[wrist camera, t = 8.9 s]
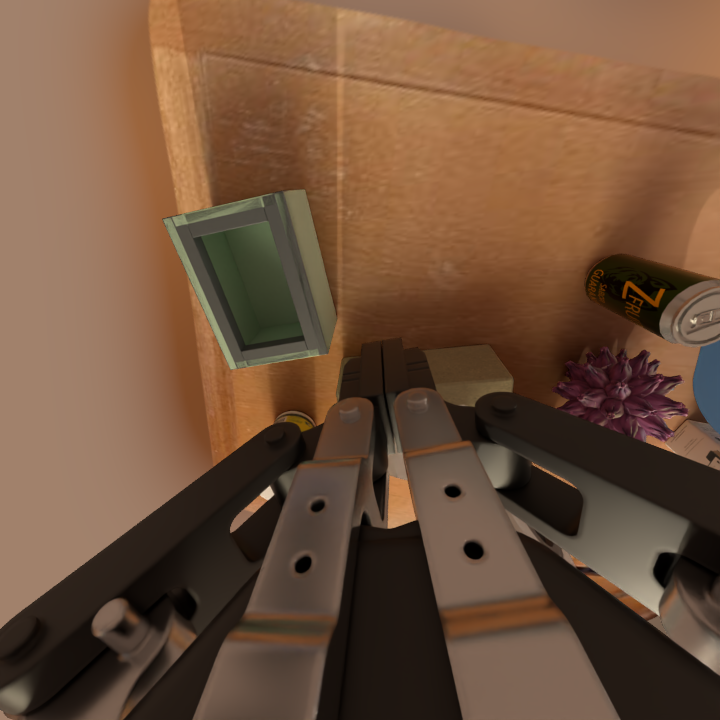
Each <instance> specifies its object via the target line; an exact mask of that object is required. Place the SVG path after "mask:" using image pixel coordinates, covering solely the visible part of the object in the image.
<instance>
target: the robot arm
mask: <svg viewBox="0 0 720 720" xmlns="http://www.w3.org/2000/svg"><path fill="white" fill-rule="evenodd" d="M382 345H383V348H382ZM394 438H395V441H394ZM395 443H396V448H397V452H398V453H402V454H403V459H404V465H405V470H406V475H407V480H408V484H409V489H410V494H411V498H412V503H413V508H414V512H415V517H416V520H415V521H413V522H410V523H407V524H404V525H401V526H399V527H396V528H392V529H387V524H388V497H389V472H388V455H390V454H396V453H395ZM532 462H533V463H535V464H537V465H539V466H541V467H543V468H545V469H547V470H548V471H550V472H552V473H554V474H556V475H558V476H560V477H562V478H564V479H565V480H567V481H569V482H570V483H572V484H573V485H574V486H575V487H576V488H577V489H576V488H574V487H572V486H570V485H568V484H566V483H565V482H563V481H561V480H559V479H557V478H555V477H553V476H552V475H550V474H548V473H546V472H544V471H542V470H540V469H539V468H537V467H535V466H533V465H532ZM269 486H270V487H271V489H272V491H273V493H274V495H273V496H272V497H271V498H270V499H269V500H268V501H267V502H266V503H265V504H264V505H263V506H261V507H260V508H259V509H258V510H257V511H256V512H255V513H254V514H253V515H252V516H251V517H250V518H249V519H248V520H246V521H245V522H244V523H243V524H242V525H241V526H240V527H239V528H238V529H237V530H236V531H234V532H232V533H230V526H231V524H232V522H233V520H234V518H235V517H236V516H237V515H238V514H239V513H240V512H241V511H242V510H243V509H244V508H245V507H247V506H248V505H249V504H250V503H251V502H252V501H253V500H254V499H256V498H257V497H258V496H259V495H260V494H261V493H262V492H263V491H264V490H266V489H267V488H268V487H269ZM505 509H506V510H507V511H508V512H510V513H511V514H513V515H514V516H516V517H517V518H519V519H520V520H521V521H523V522H524V523H526V524H527V525H529V526H530V527H532V528H533V529H535V530H536V531H537V532H539V533H540V534H542V535H543V536H545V537H546V538H548V539H549V540H550V541H552V542H553V543H555V544H556V545H558V546H559V547H561V548H562V549H563V550H565V551H566V552H568V553H569V554H571V555H572V556H574V557H575V558H576V559H578V560H579V561H581V562H582V563H584V564H585V565H587V566H588V567H590V568H591V569H592V570H594V571H595V572H597V573H598V574H600V575H601V576H603V577H604V578H605V579H607V580H608V581H610V582H611V583H613V584H614V585H616V586H617V587H618V588H620V589H621V590H623V591H624V592H626V593H627V594H629V595H630V596H631V597H633V598H634V599H636V600H637V601H639V602H640V603H642V604H643V605H645V606H646V607H647V608H649V609H650V610H652V611H653V612H655V613H656V614H658V615H659V616H660V619H661V622H662V625H663V627H664V629H665V631H666V633H667V635H668V636H669V637H668V636H666V635H665V634H663V633H662V632H661V631H660V630H658V629H657V628H656V627H654V626H653V625H651V624H650V623H649V622H648V621H646V620H645V619H643V618H642V617H641V616H639V615H638V614H637V613H635V612H634V611H633V610H631V609H630V608H629V607H627V606H626V605H625V604H623V603H622V602H621V601H619V600H618V599H617V598H615V597H614V596H613V595H611V594H610V593H609V592H607V591H606V590H605V589H603V588H602V587H601V586H599V585H598V584H597V583H595V582H594V581H593V580H591V579H590V578H589V577H587V576H586V575H585V574H583V573H582V572H581V571H579V570H578V569H577V568H575V567H574V566H573V565H571V564H570V563H569V562H567V561H566V560H565V559H563V558H562V557H561V556H559V555H558V554H557V553H555V552H554V551H553V550H551V549H550V548H548V547H547V546H545V545H543V544H542V543H540V542H538V541H537V540H535V539H533V538H531V537H529V536H527V535H525V534H523V533H521V532H518V531H516V530H515V528H514V526H513V524H512V522H511V520H510V518H509V516H508V514H507V512H506V510H505ZM0 710H2V711H3V712H4V714H5V715H6V716H7V717H8V718H10V719H12V720H720V470H717V469H714V468H712V467H709V466H707V465H704V464H701V463H699V462H696V461H693V460H691V459H688V458H685V457H683V456H680V455H677V454H675V453H672V452H670V451H667V450H664V449H662V448H659V447H656V446H654V445H651V444H648V443H646V442H643V441H640V440H638V439H635V438H632V437H630V436H627V435H625V434H622V433H619V432H617V431H614V430H611V429H609V428H606V427H603V426H601V425H598V424H595V423H593V422H590V421H588V420H585V419H582V418H580V417H577V416H574V415H572V414H569V413H566V412H564V411H561V410H558V409H556V408H553V407H551V406H548V405H545V404H543V403H540V402H537V401H535V400H532V399H529V398H527V397H524V396H521V395H519V394H516V393H511V392H492V393H488V394H486V395H483V396H482V397H480V398H479V399H478V400H477V401H476V403H475V407H473V406H460V405H455V404H452V403H449V402H447V401H445V400H443V398H442V396H441V395H440V394H439V393H438V392H437V390H436V386H435V383H434V380H433V377H432V373H431V370H430V367H429V364H428V361H427V357H426V354H425V352H423V351H422V350H420V349H419V348H418V347H416V348H410V349H404V350H403V344H402V339H401V337H399V338H393V339H387V340H382V343H381V341H376V342H370V343H364V344H362V349H361V357H357V358H351V359H350V360H349V361H348V362H347V363H346V364H345V366H344V369H343V376H342V382H341V388H340V394H339V400H338V402H337V403H336V404H334V405H333V406H332V407H331V408H330V409H329V411H328V413H327V415H326V419H325V422H324V423H323V424H321V425H319V426H316V427H314V428H311V429H308V430H305V431H303V432H301V430H300V427H299V426H298V425H297V424H295V423H293V422H280V423H276V424H273V425H271V426H269V427H267V428H265V429H264V430H262V431H261V432H260V433H258V434H257V435H256V436H254V437H253V438H252V439H250V440H249V441H248V442H246V443H245V444H244V445H242V446H241V447H240V448H238V449H237V450H236V451H234V452H233V453H232V454H230V455H229V456H228V457H226V458H225V459H224V460H222V461H221V462H220V463H218V464H217V465H216V466H214V467H213V468H212V469H210V470H209V471H208V472H206V473H205V474H204V475H202V476H201V477H200V478H198V479H197V480H196V481H194V482H193V483H192V484H190V485H189V486H188V487H186V488H185V489H184V490H182V491H181V492H180V493H178V494H177V495H176V496H174V497H173V498H172V499H170V500H169V501H168V502H166V503H165V504H164V505H162V506H161V507H160V508H158V509H157V510H156V511H154V512H153V513H152V514H150V515H149V516H148V517H146V518H145V519H144V520H142V521H141V522H140V523H138V524H137V525H136V526H134V527H133V528H132V529H130V530H129V531H128V532H126V533H125V534H124V535H122V536H121V537H120V538H118V539H117V540H116V541H114V542H113V543H112V544H110V545H109V546H108V547H106V548H105V549H104V550H102V551H101V552H100V553H98V554H97V555H96V556H94V557H93V558H92V559H90V560H89V561H88V562H86V563H85V564H84V565H82V566H81V567H80V568H78V569H77V570H76V571H75V572H73V573H72V574H70V575H69V576H68V577H66V578H65V579H64V580H62V581H61V582H60V583H58V584H57V585H56V586H54V587H53V588H52V589H50V590H49V591H48V592H46V593H45V594H44V595H42V596H41V597H40V598H38V599H37V600H36V601H34V602H33V603H32V604H30V605H29V606H28V607H26V608H25V609H24V610H22V611H21V612H20V613H18V614H17V615H16V616H15V617H13V618H12V619H11V620H10V621H9V622H8V623H6V624H5V625H4V626H3V627H2V628H1V629H0Z"/></svg>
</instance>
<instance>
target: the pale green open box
mask: <svg viewBox="0 0 720 720" xmlns="http://www.w3.org/2000/svg"><path fill="white" fill-rule="evenodd" d="M162 220H163V222H164V224H165V227H166V229H167V231H168V233H169V235H170V237H171V240H172V242H173V244H174V246H175V248H176V251H177V253H178V255H179V257H180V260H181V262H182V264H183V266H184V268H185V271H186V273H187V275H188V277H189V279H190V282H191V284H192V286H193V288H194V290H195V293H196V295H197V297H198V299H199V301H200V304H201V306H202V308H203V310H204V312H205V315H206V317H207V319H208V321H209V323H210V326H211V328H212V330H213V332H214V334H215V337H216V339H217V341H218V343H219V345H220V348H221V350H222V352H223V354H224V356H225V359H226V361H227V363H228V365H229V367H230V370H233V369H239V368H245V367H251V366H257V365H263V364H269V363H276V362H282V361H288V360H294V359H300V358H306V357H312V356H319V355H325V354H328V352H329V349H330V344H331V341H332V337H333V333H334V329H335V325H336V321H337V316H336V312H335V308H334V304H333V300H332V296H331V292H330V288H329V284H328V280H327V276H326V272H325V268H324V264H323V260H322V256H321V252H320V248H319V244H318V240H317V235H316V231H315V227H314V223H313V219H312V215H311V211H310V207H309V203H308V199H307V195H306V191H305V189H301V190H287V191H279V192H275V193H270V194H266V195H262V196H257V197H253V198H249V199H245V200H240V201H236V202H232V203H227V204H223V205H219V206H215V207H210V208H206V209H202V210H197V211H193V212H189V213H184V214H180V215H176V216H172V217H167V218H163V219H162Z"/></svg>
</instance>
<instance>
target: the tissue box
mask: <svg viewBox="0 0 720 720" xmlns="http://www.w3.org/2000/svg"><path fill="white" fill-rule="evenodd" d="M422 351H423V352H425V354H426V357H427V361H428V364H429V367H430V370H431V373H432V377H433V380H434V383H435V386H436V390H437V392H438V393H439V394H440V395H441V396H442V398H443V400H445V401H447V402H449V403H452V404H455V405H460V406H473V407H475V403H476V401H477V400H478V399H479V398H480V397H482V396H483V395H486V394H488V393H492V392H511V393H512V392H513V384H514V378H513V377H512V375H511V374H510V373H509V371H508V370H507V369H506V367H505V366H504V364H503V363H502V362H501V360H500V359H499V358H498V356H497V355H496V353H495V352H494V351H493V349H492V348H491V347H490V345H488V344H484V345H473V346H463V347H452V348H442V349H431V350H422ZM358 357H361V356H358ZM351 358H357V357H348V358H343V359H342V363H341V368H340V374H339V380H338V386H337V391H336V397H337V402H338V400H339V394H340V388H341V382H342V376H343V369H344V366H345V364H346V363H347V362H348V361H349V360H350V359H351ZM394 441H395V438H394ZM395 453H396V454H390V455H388V472H389V475H391V476H394V477H397V478H400V479H404V480H407V475H406V470H405V465H404V459H403V454H402V453H398V452H397V448H396V443H395ZM407 481H408V480H407Z"/></svg>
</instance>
